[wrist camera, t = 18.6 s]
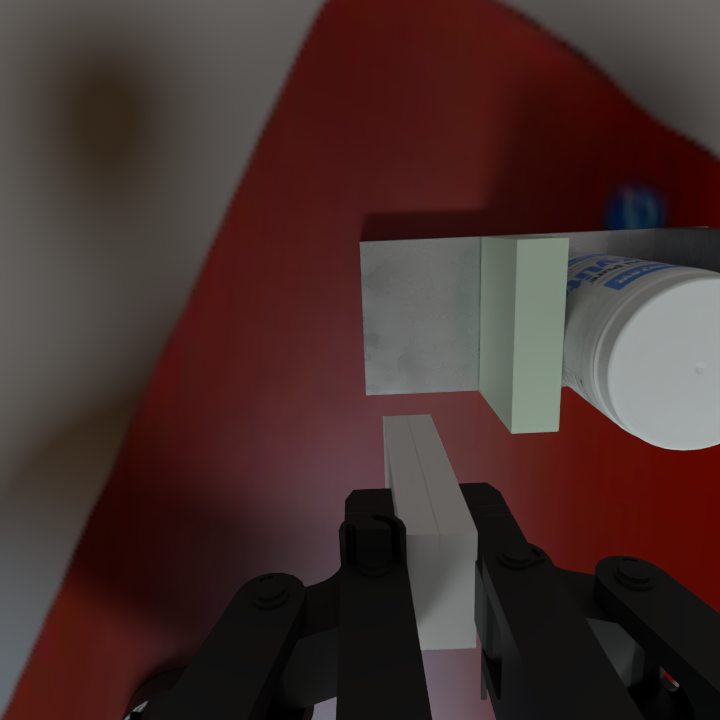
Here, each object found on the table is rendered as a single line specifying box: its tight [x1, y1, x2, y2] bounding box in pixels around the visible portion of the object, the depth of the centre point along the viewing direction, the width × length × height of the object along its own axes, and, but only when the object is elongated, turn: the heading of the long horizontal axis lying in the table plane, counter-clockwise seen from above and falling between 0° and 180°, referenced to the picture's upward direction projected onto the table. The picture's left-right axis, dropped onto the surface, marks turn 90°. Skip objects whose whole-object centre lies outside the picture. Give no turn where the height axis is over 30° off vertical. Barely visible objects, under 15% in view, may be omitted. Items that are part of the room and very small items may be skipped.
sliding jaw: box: [479, 235, 569, 433], centre depth 36 cm, size 3×12×9 cm, turn 3°
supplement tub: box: [561, 253, 720, 450], centre depth 33 cm, size 10×10×15 cm
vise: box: [360, 226, 720, 395], centre depth 37 cm, size 26×12×11 cm, turn 92°
